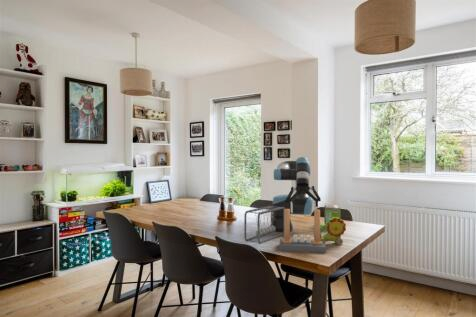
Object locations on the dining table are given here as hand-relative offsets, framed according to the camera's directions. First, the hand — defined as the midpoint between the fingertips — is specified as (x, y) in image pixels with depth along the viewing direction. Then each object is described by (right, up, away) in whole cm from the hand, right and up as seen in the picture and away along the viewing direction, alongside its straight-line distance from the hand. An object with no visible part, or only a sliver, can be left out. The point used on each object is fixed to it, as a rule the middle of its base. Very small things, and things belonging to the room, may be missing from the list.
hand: (303, 212), depth 187 cm
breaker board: (-3, -17, -13) cm, 22 cm away
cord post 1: (-11, -14, -12) cm, 22 cm away
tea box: (+28, -17, +40) cm, 51 cm away
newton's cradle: (-21, -17, +10) cm, 29 cm away
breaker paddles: (-3, -14, -13) cm, 20 cm away
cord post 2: (+4, -14, -14) cm, 21 cm away
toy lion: (+15, -18, -4) cm, 24 cm away
